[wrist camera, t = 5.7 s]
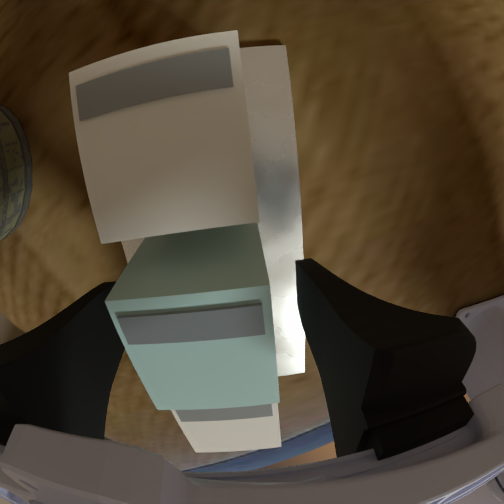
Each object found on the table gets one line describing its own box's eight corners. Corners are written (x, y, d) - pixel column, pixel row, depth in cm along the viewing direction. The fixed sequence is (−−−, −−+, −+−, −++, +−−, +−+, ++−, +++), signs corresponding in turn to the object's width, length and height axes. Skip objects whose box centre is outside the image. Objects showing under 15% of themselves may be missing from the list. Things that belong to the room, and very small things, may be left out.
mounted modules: (236, 65, 10) (237, 28, 6) (272, 378, 17) (281, 448, 13) (128, 85, 10) (66, 72, 5) (200, 385, 17) (195, 454, 13)
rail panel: (284, 47, 11) (289, 39, 10) (303, 368, 19) (307, 383, 18) (94, 82, 11) (80, 80, 10) (174, 380, 19) (171, 395, 18)
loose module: (255, 211, 13) (270, 287, 7) (265, 306, 15) (280, 405, 9) (154, 224, 13) (103, 303, 7) (178, 315, 15) (156, 412, 9)
